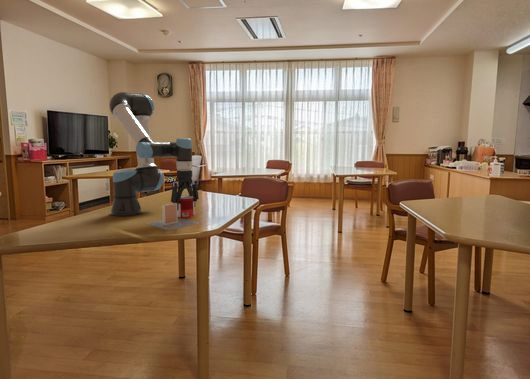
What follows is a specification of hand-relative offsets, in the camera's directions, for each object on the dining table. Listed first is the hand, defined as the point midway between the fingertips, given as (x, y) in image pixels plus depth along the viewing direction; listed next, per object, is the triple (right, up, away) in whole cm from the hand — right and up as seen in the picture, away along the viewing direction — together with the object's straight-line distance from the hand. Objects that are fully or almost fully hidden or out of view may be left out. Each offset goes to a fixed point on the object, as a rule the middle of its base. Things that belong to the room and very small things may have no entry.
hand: (185, 215), depth 185 cm
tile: (-3, -3, -16) cm, 17 cm away
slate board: (-2, -4, -16) cm, 17 cm away
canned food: (0, -2, 0) cm, 2 cm away
